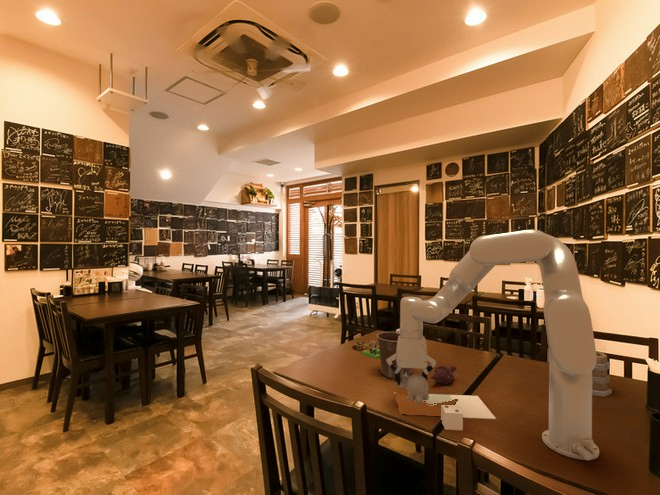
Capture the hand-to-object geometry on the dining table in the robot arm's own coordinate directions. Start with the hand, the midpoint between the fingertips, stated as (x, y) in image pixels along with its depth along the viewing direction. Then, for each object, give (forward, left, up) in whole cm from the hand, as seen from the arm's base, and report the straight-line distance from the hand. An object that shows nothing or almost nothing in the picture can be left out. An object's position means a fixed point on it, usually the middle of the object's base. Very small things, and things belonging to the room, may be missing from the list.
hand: (410, 384), depth 115 cm
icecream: (+19, -16, -7) cm, 26 cm away
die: (-13, -10, -7) cm, 18 cm away
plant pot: (+27, +2, -7) cm, 28 cm away
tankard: (+19, -66, -7) cm, 69 cm away
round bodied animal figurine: (0, 0, -5) cm, 5 cm away
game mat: (0, -10, -7) cm, 12 cm away
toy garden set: (+60, +7, -8) cm, 61 cm away
